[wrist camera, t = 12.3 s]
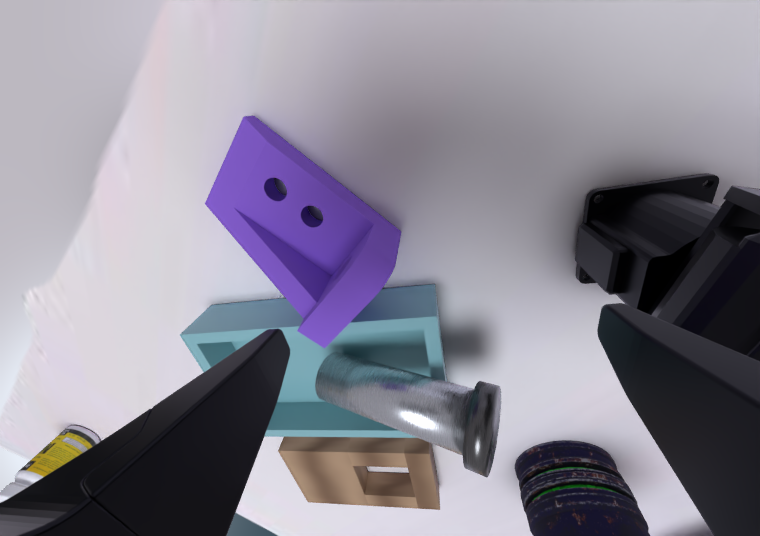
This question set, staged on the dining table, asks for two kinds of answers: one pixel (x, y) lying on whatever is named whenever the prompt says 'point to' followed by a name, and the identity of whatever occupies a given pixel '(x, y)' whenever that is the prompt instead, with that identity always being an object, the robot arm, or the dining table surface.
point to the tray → (359, 338)
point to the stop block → (363, 470)
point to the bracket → (303, 230)
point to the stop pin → (417, 405)
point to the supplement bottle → (51, 458)
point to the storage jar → (576, 492)
